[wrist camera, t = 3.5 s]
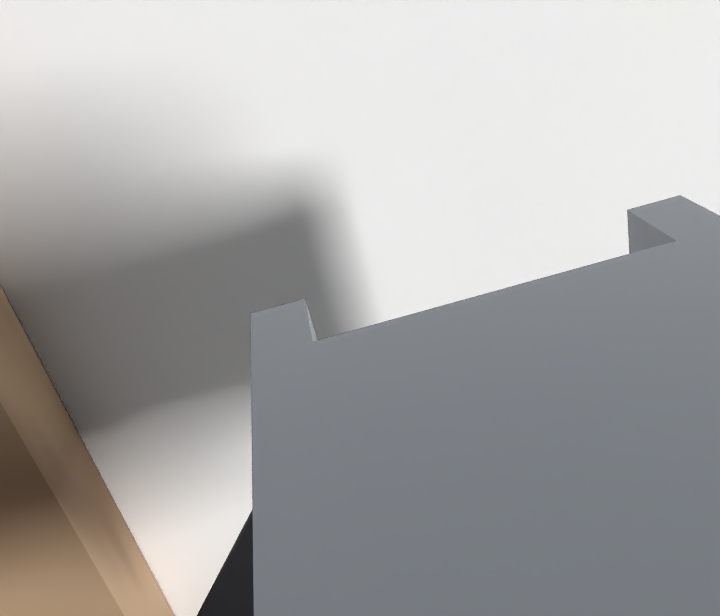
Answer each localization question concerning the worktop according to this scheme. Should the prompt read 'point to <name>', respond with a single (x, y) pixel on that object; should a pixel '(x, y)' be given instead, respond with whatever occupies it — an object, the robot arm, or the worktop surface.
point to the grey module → (501, 445)
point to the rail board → (58, 505)
